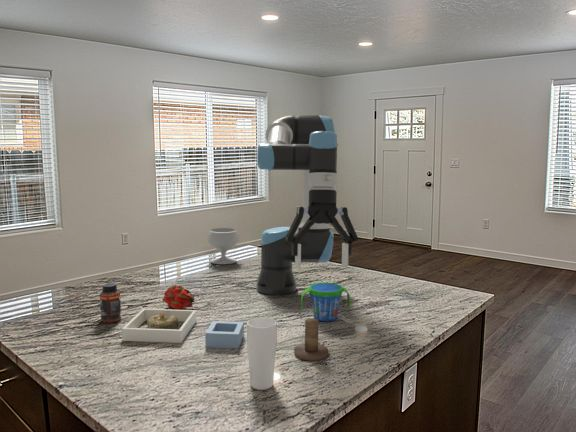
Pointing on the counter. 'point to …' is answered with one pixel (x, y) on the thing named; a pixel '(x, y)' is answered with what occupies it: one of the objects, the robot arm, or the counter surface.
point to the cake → (163, 322)
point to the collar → (224, 334)
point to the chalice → (223, 243)
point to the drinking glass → (261, 351)
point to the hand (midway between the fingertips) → (321, 267)
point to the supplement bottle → (110, 303)
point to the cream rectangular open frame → (159, 335)
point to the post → (311, 343)
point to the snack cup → (325, 300)
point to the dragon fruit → (178, 298)
